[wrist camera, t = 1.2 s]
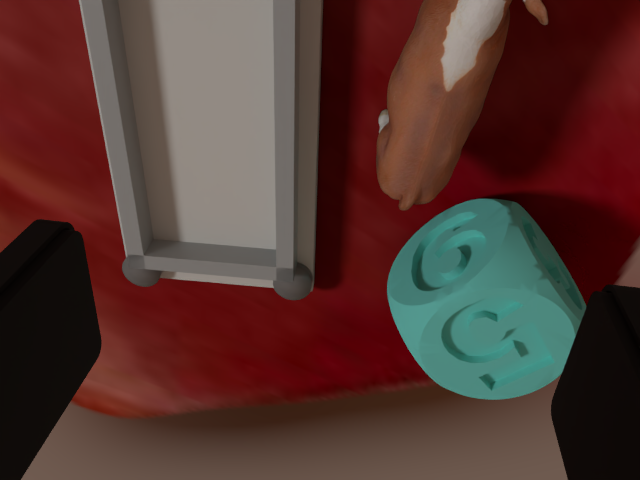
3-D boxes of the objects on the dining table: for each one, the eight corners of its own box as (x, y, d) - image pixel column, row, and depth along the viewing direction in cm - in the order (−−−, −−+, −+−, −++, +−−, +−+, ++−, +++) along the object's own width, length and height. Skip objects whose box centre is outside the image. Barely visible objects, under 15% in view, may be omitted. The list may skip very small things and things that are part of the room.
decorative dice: (459, 325, 40) (471, 421, 33) (385, 245, 37) (383, 333, 30) (571, 267, 36) (610, 361, 30) (499, 174, 33) (525, 256, 27)
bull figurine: (555, -94, 26) (611, -72, 19) (426, 164, 34) (435, 245, 27) (463, -132, 26) (488, -123, 19) (353, 138, 33) (343, 213, 26)
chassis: (66, -125, 27) (36, -122, 25) (326, -114, 27) (320, -111, 24) (135, 268, 40) (119, 294, 37) (314, 284, 39) (309, 311, 37)
